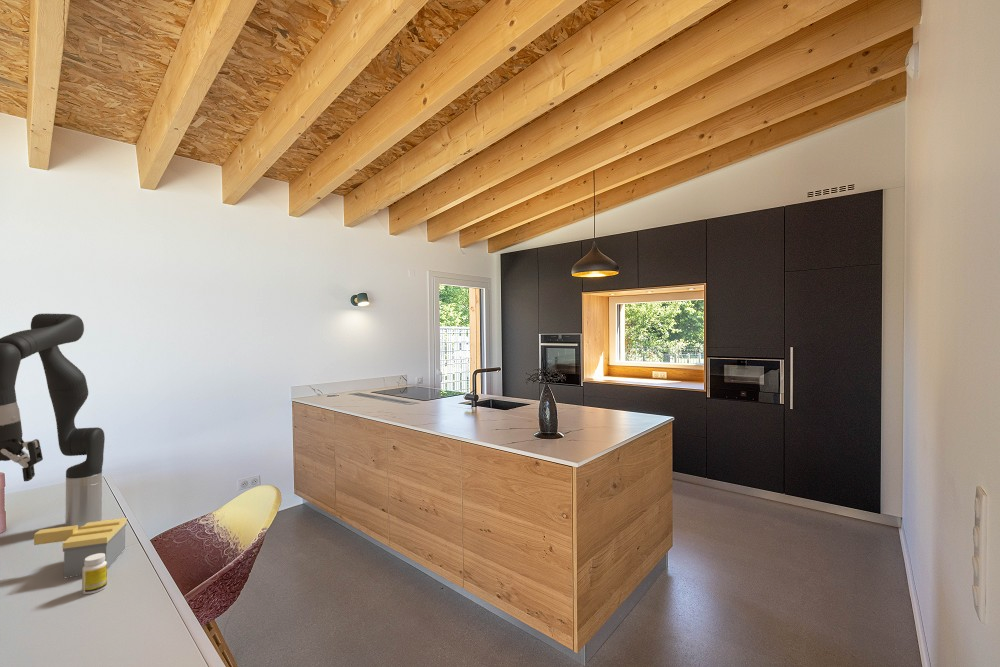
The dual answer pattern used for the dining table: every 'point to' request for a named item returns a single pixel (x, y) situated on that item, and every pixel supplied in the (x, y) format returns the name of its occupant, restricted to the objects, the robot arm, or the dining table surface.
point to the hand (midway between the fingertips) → (7, 482)
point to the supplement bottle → (94, 573)
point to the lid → (81, 533)
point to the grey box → (78, 554)
